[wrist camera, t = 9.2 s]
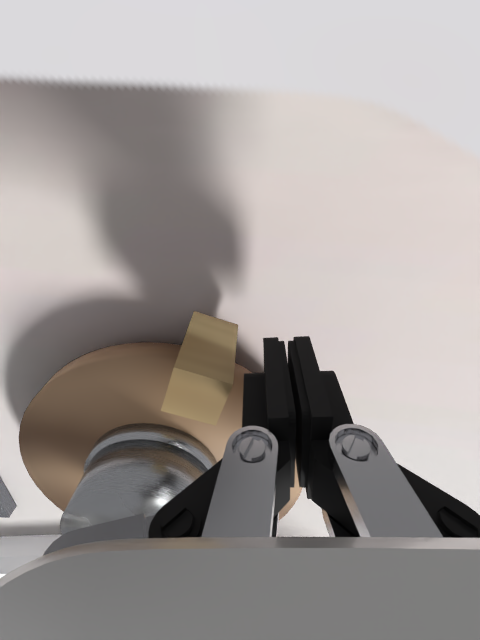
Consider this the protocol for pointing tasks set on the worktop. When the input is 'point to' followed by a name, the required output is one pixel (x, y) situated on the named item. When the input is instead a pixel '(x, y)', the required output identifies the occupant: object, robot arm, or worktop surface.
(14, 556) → the white switch plate
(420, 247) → the worktop surface
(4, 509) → the gauge post
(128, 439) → the cover
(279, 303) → the worktop surface
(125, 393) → the turntable
